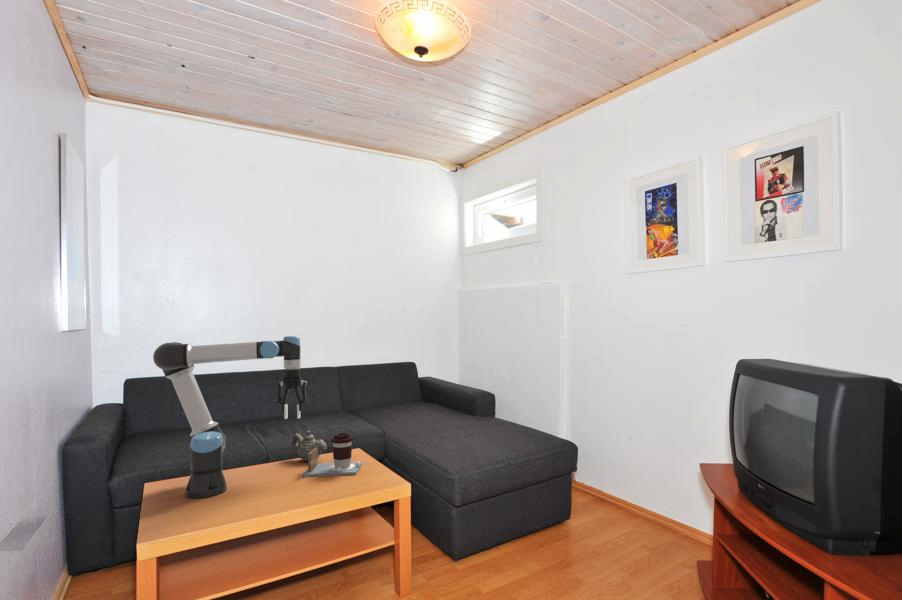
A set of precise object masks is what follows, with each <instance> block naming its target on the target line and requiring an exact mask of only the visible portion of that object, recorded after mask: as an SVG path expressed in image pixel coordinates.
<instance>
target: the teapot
mask: <svg viewBox="0 0 902 600" xmlns="http://www.w3.org/2000/svg"><path fill="white" fill-rule="evenodd" d="M291 440H292V441H291V446H292V448H293V450H294V451H295V452H296V453H297V456H298V457H299V458H300V459H301V460H302V461H304V462H307V461H308V454H309V453H310V452H311V451H312V450H313V449H314V448H316V447H318V458H319V457H320V455H321V453H322V452H325V451H326V450H327V449H328V447H327V443H326V442H325V440H323V439H315V436H314V435H313V434H311V430H306V434H305V435H304V436H302V435H301V434H300V433H294V434H293V437H292V439H291Z"/></svg>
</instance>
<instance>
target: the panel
mask: <svg viewBox="0 0 902 600" xmlns="http://www.w3.org/2000/svg"><path fill="white" fill-rule="evenodd" d="M318 464H319V457H318V447H316V448H314V449H313V450H312V451H311V452H310V453H309V454H308V467H307V469H308V472H311V471H312V470H313V469H314V468H315V467H316V466H317V465H318Z"/></svg>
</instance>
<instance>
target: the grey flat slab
mask: <svg viewBox="0 0 902 600" xmlns="http://www.w3.org/2000/svg"><path fill="white" fill-rule="evenodd" d="M362 466H363V461H351V463H350V467H348V468H344V469H341V467H337V468H335V466H334V462H328V463H327V462H326V463H323V462H321V463H318V465H317V466H316V467H315V468H314V469H313V470H312V471H311V472H308V468H307V469H306V470H305V471H304V472H303V473H302V478H309V477H310V478H311V477H315V478H316V477H335V476H355V475H357V474H358V472H359V471H360V470H361V468H362Z"/></svg>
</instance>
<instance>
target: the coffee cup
mask: <svg viewBox="0 0 902 600" xmlns="http://www.w3.org/2000/svg"><path fill="white" fill-rule="evenodd" d="M330 439H331V440H330V441H331V443H332V456H333V463H334V466H335V468H337V467H341V469H344V468H348V467H350V463H351V462H352V461H351V459H352V449H353V443H352V442H353V440H354V437H353V435H351V434H350V433H348V432H339V433H335V435H334V436H333V437H331V438H330Z"/></svg>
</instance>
